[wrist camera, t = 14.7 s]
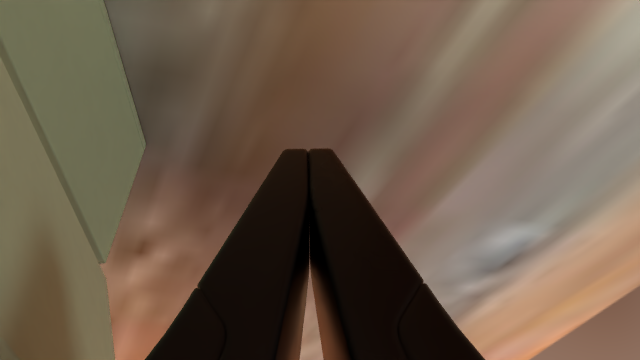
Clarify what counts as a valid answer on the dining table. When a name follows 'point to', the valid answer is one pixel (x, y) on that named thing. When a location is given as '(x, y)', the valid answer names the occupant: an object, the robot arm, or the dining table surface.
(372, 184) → the dining table surface
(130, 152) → the carton
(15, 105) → the flap
